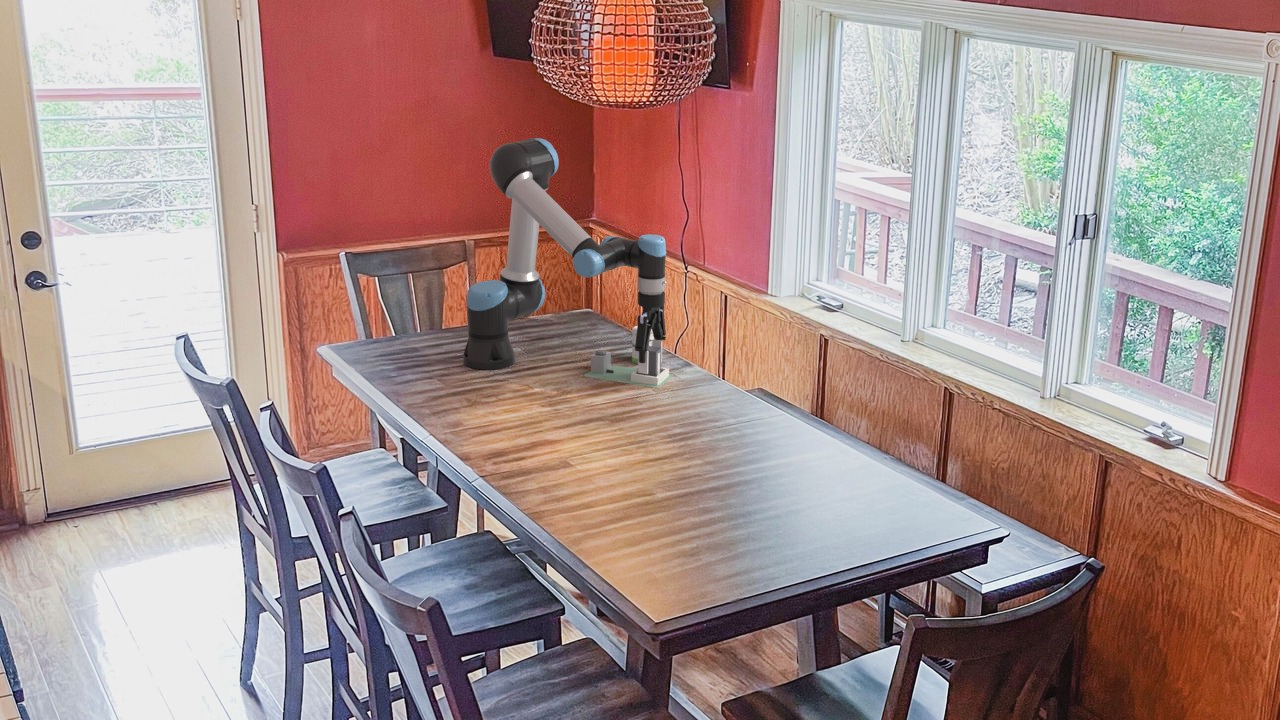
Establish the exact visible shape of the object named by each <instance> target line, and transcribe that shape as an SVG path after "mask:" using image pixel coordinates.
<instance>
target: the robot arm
mask: <svg viewBox="0 0 1280 720" xmlns="http://www.w3.org/2000/svg"><path fill="white" fill-rule="evenodd" d="M559 163H560V160H559V155H558V153H557V150H556V149H555V148H554V146H553V145H552V143H551V142H549V141H548V140H547V139H544V138H541V137H539V138H537V137H536V138H535V137H534V138H532V137H530V138H527V139H524V140H523V139H522V140H520V141H514V142H507V143H504V144H501V145H500V146H499V147H497V148H496V149H495V150H494V151H493V153H492V155H491V157H490V160H489V172H490V175H491V176H490V177H491V178H492V180H493V182H494V184H495V186H496V187H497V188H498V189H499V190H500V192H502V194H503V195H504V196H505V197H506V198H508V199H511V209H510V210H511V211H510V221H509V232H508V244H507V245H508V246H507V255H506V266H505V267H504V268H502V269H501V271H500V275H499V280H497V279H491V280H489V279H488V280H486V281H485V280H482V281H478V282H476V283H474V284H472V285H471V286H470V287H469V288H468V290H467V296H466V297H467V298H466V309H467V310H466V311H467V312H466V313H467V330H468V332H467V334H468V337H467V340H466V344H465V348H464V352H463V355H462V359H463V360H462V361H463V364H464V365H465V366H466V367H469V368H470V369H471V368H472V369H477V370H489V371H490V370H499V369H504V368H507V367H510V366H513V364H514V363H515V362H516V357H515V356H516V355H515V351H514V349H513V345H512V341H511V339H510V337H509V322H512V321H515V320H517V319H520V318H522V317H527V316H530V315H531V314H533V313H535V312H537V311H538V310H540V308H542V306H543V304H544V302H545V299H546V288H545V286H544V285H543V281H542V279H541V278H540V273H539V272H538V271H537V270H536V263H537V254H538V243H539V242H538V241H539V232H540V231H539V230H540V227H541V228H542V229H543V230H544V231H546V233H547V234H549V236H550V237H551V238H552V239H553V240H554V241H555V242H556V243H557V244H558V245H559V246H560V247H562V249H564V250H565V252H566V253H567V254H568V255H569V256H571V258H572V264H573V265H572V267H573V268H574V271H575V272H576V274H577V275H578V276H580V277H583V278H587V279H588V278H593V277H597V276H600V275H601V274H603V273H605V272H609V271H611V270H615V269H618V268H620V267H627V268H628V267H629V268H634V269H637V290H638V292H637V304H638V306H639V307H642V312H641V315H638V316H637V325H636V326H637V335H636V344H635V351H638V364H637V367H638V368H637V369H638V373H643V374H648V354H649V351H647V348H648V343H649V338H650V333H651V329H652V332H653V336H654V339H656V340H654V339H653V341H652V346H653V347H660V348H661V364H662V362H663V341H666V339H667V337H666V333H667V332H666V322H665V303H666V293H665V291H666V285H667V281H666V260H667V248H666V245H667V244H666V239H665V237H664V236H662V235H660V234H659V235H658V234H651V233H650V234H643V235H640V236H639V237H638V240H636V239H631V238H630V239H629V238H625V237H621V236H610V235H609V236H606V237H603V240H601V242H600V244H599V243H597V242H596V240H594V238H592V237H591V235H590V234H588V232H587V231H585V230H584V228H582V227H581V226H580V225H579V224H578V223H577V222H576V220H574V219H573V218H572V217H571V215H569V214H568V212H566V211H565V210H564V209H563V208H562V207H561V205H560V204H559V203H557V202H556V201H555V200H554V199H553V197H552V196H551V195H549V194H548V193H547V192H546V191H547V190H548V189H549V185H550V178H551V177H554V175H555V173H557V171H558V169H559ZM647 324H648V325H647Z"/></svg>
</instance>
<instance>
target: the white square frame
mask: <svg viewBox="0 0 1280 720" xmlns="http://www.w3.org/2000/svg"><path fill="white" fill-rule="evenodd" d="M636 369H637V370H635V371H634V372H633V373H632V374H631V381H632V382H638V383H644V384H651V385H657V386H658V385H659V384H660V383H661V382H662V381H664V380H665V379H666V378H667V377H668V376H669V374H670V368H667V367H661V373H660V374H659V375H658V376H657V377H654V376H647V375H641V374H639V373H638V368H636Z"/></svg>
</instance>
